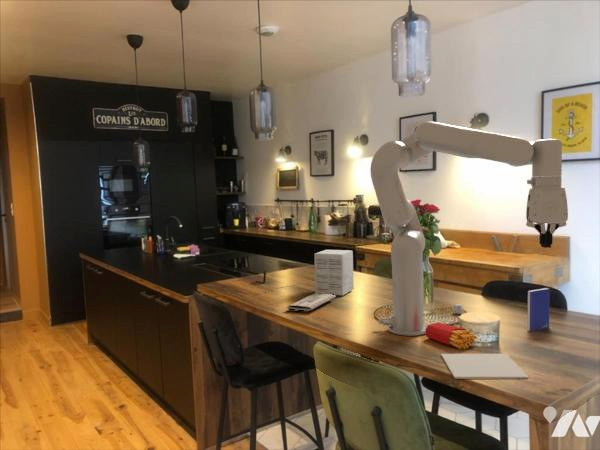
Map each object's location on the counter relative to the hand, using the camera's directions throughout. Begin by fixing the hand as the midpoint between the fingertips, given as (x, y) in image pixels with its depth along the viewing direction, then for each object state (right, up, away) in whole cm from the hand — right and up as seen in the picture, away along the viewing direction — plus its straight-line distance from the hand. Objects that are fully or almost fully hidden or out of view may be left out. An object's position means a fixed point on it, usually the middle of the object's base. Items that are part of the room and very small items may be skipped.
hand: (545, 246), depth 145 cm
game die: (-15, -25, +34) cm, 44 cm away
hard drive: (+4, -26, +12) cm, 29 cm away
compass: (-91, -23, +93) cm, 132 cm away
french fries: (-31, -26, +7) cm, 41 cm away
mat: (-25, -29, -18) cm, 42 cm away
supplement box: (-56, -23, +75) cm, 96 cm away
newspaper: (-67, -26, +52) cm, 89 cm away
